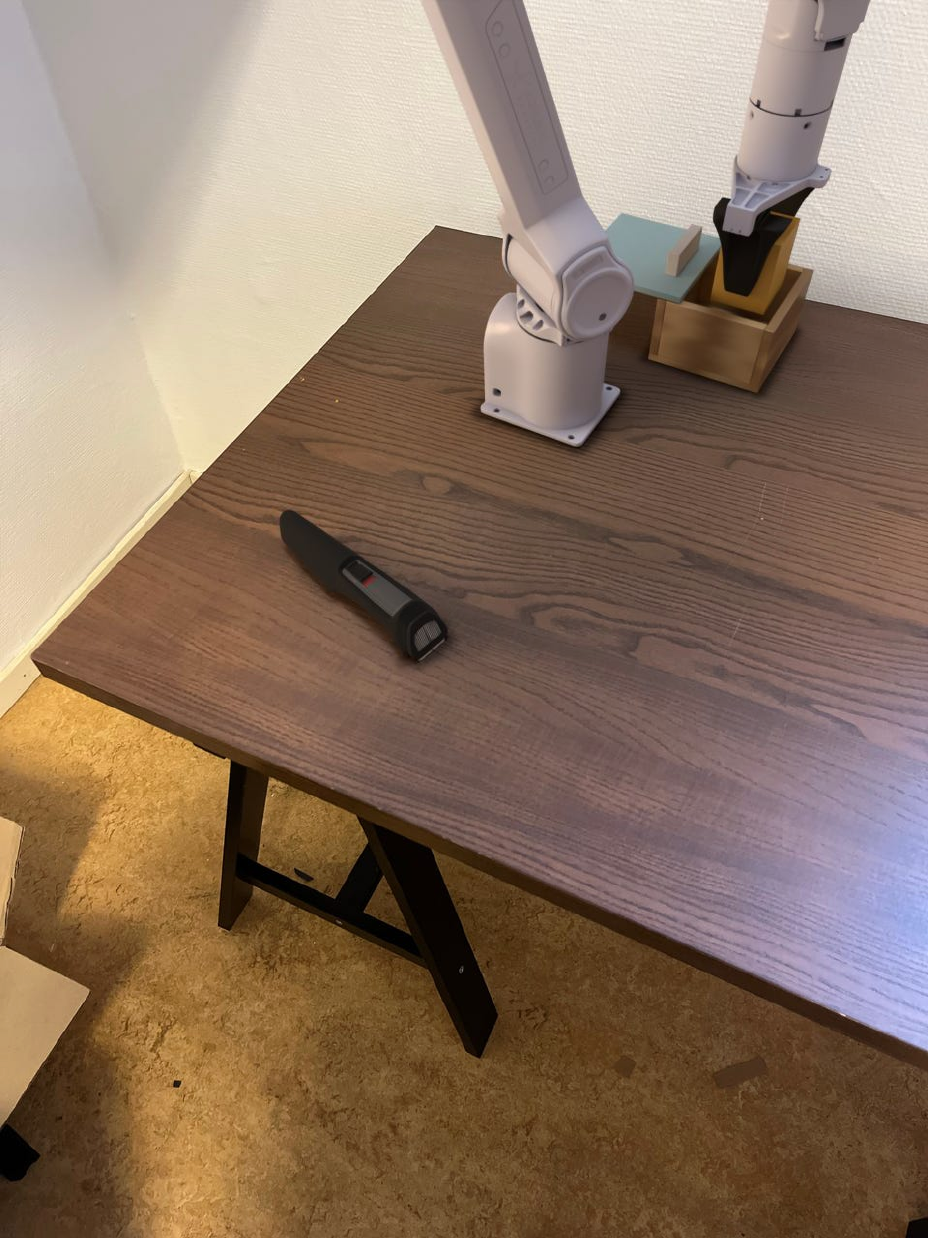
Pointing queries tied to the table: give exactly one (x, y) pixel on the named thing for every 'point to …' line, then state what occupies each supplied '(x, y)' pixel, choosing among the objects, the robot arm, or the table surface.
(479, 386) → the table surface
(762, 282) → the block
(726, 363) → the box
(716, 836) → the table surface
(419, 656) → the electric trimmer
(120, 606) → the table surface
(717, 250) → the teal lid
